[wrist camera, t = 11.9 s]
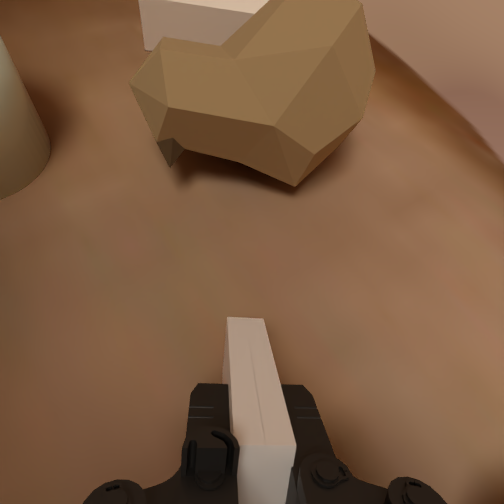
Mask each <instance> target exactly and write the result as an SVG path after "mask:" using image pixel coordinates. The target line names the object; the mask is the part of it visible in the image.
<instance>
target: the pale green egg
mask: <svg viewBox="0 0 504 504" xmlns="http://www.w3.org/2000/svg"><path fill="white" fill-rule="evenodd" d="M50 150H51V145H50V139H49V136H48V134H47V132H46V130H45V128H44V126H43V123H42V121H41V119H40V117H39V115H38V113H37V111H36V109H35V107H34V105H33V103H32V101H31V98H30V96H29V94H28V92H27V90H26V88H25V86H24V84H23V82H22V80H21V78H20V75H19V73H18V71H17V69H16V67H15V65H14V63H13V61H12V59H11V57H10V55H9V52H8V50H7V48H6V46H5V44H4V42H3V40H2V38H1V36H0V199H3V198H6V197H8V196H10V195H12V194H14V193H16V192H18V191H20V190H21V189H23V188H24V187H26V186H27V185H29V184H30V183H31V182H32V181H33V180H34V179H36V178H37V176H38V175H39V174H40V173H41V172H42V170H43V169H44V167H45V166H46V164H47V162H48V159H49V156H50Z"/></svg>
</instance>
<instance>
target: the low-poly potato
mask: <svg viewBox="0 0 504 504" xmlns="http://www.w3.org/2000/svg"><path fill="white" fill-rule="evenodd" d="M374 75H375V66H374V61H373V56H372V51H371V46H370V41H369V35H368V30H367V25H366V20H365V15H364V10H363V5H362V3H361V2H359V1H358V0H269V1H268V2H267V3H266V4H265V5H264V6H263V7H262V8H260V9H259V10H258V11H257V12H256V13H255V14H254V15H253V16H252V17H251V18H250V19H249V20H248V21H247V22H245V23H244V24H243V25H242V26H241V27H240V28H239V29H238V30H237V31H236V32H235V33H234V34H233V35H232V36H231V37H229V38H228V39H227V40H226V41H225V42H224V43H223V44H222V45H221V46H218V45H212V44H205V43H199V42H193V41H187V40H181V39H174V38H168V37H163V38H162V39H161V40H160V42H159V43H158V44H157V46H156V47H155V48H154V50H153V51H152V52H151V54H150V55H149V56H148V58H147V59H146V60H145V62H144V63H143V64H142V66H141V67H140V68H139V69H138V71H137V72H136V73H135V75H134V76H133V77H132V79H131V80H130V81H129V85H130V87H131V89H132V91H133V93H134V95H135V97H136V100H137V102H138V104H139V106H140V108H141V110H142V112H143V114H144V117H145V119H146V121H147V123H148V125H149V127H150V129H151V131H152V133H153V136H154V138H155V140H156V142H157V144H158V146H159V148H160V150H161V152H162V154H163V156H164V157H165V159H166V161H167V163H168V165H169V167H170V168H171V166H172V165H173V164H174V162H175V161H176V160H177V158H178V157H179V156H180V154H181V153H182V152H183V150H184V149H187V150H191V151H195V152H199V153H203V154H208V155H212V156H216V157H220V158H224V159H228V160H232V161H236V162H240V163H242V164H244V165H247V166H249V167H251V168H253V169H256V170H258V171H260V172H262V173H265V174H267V175H269V176H271V177H274V178H276V179H278V180H280V181H283V182H285V183H287V184H289V185H292V186H294V187H295V186H297V185H298V184H299V183H300V182H301V181H302V180H303V179H304V178H305V177H306V176H307V175H308V174H309V173H310V172H312V171H313V170H314V169H315V168H316V167H317V166H318V165H319V164H320V163H321V162H322V161H323V160H324V159H325V158H326V157H328V156H329V155H330V154H331V153H332V152H333V151H334V150H335V149H336V148H337V147H338V146H339V145H340V144H341V143H342V142H343V140H344V139H345V138H346V137H347V136H348V135H349V133H350V132H351V131H352V130H353V129H354V128H355V126H356V125H357V124H358V123H359V122H360V120H361V119H362V118H363V115H364V111H365V107H366V104H367V100H368V97H369V93H370V89H371V86H372V82H373V78H374Z"/></svg>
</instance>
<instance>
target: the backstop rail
mask: <svg viewBox="0 0 504 504" xmlns="http://www.w3.org/2000/svg"><path fill="white" fill-rule="evenodd" d="M268 1H269V0H139V8H140V16H141V23H142V31H143V39H144V46H145V50H148V51H153V50H154V48H155V47H156V46H157V44H158V43H159V42H160V40H161V39H162V38H163V37H168V38H174V39H181V40H187V41H193V42H199V43H205V44H212V45H218V46H221V45H222V44H223V43H224V42H225V41H226V40H227V39H228V38H229V37H231V36H232V35H233V34H234V33H235V32H236V31H237V30H238V29H239V28H240V27H241V26H242V25H243V24H244V23H245V22H247V21H248V20H249V19H250V18H251V17H252V16H253V15H254V14H255V13H256V12H257V11H258V10H259V9H260V8H262V7H263V6H264V5H265V4H266V3H267V2H268Z"/></svg>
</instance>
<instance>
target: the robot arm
mask: <svg viewBox="0 0 504 504" xmlns="http://www.w3.org/2000/svg"><path fill="white" fill-rule="evenodd" d="M222 383H223V384H207V383H198V384H197V386H196V387H195V388H194V390H193V391H192V392H191V395H190V404H189V414H188V423H187V432H186V439H185V441H184V444H183V447H182V459H181V466H180V468H179V470H178V471H177V472H176V473H175V474H174V476H173V477H171V478H170V479H168V480H167V481H165V482H163V483H161V484H159V485H156V486H153V487H150V488H147V489H142V488H141V487H140V486H139V484H137V483H135V482H132V481H130V480H114V481H111V482H107V483H105V484H103V485H101V486H100V487H98V488H97V489H95V490H94V491H93V492H92V493H91V494H90V495H89V496H88V497H87V499H86V500H85V501H84V502H83V504H447V503H446V502H445V501H444V500H443V499H442V497H441V496H440V495H439V494H438V493H437V492H435V491H434V490H433V489H432V488H431V487H430V486H428V485H427V484H425V483H423V482H421V481H420V480H417V479H413V478H410V477H398V478H396V479H394V480H393V481H391V483H390V485H389V487H388V489H386V488H383V487H379V486H376V485H373V484H369V483H366V482H363V481H361V480H358V479H357V478H355V477H353V476H352V474H351V472H350V471H349V469H348V467H347V466H346V465H345V464H343V463H342V462H341V461H340V460H339V459H337V458H336V457H335V454H334V452H333V449H332V446H331V444H330V441H329V438H328V436H327V433H326V430H325V428H324V425H323V422H322V420H321V419H320V414H319V412H318V409H317V407H316V404H315V401H314V399H313V396H312V394H311V393H310V392H309V391H308V390H307V389H306V388H305V387H304V386H303V385H286V384H280V380H279V377H278V373H277V369H276V365H275V361H274V357H273V354H272V350H271V346H270V342H269V338H268V334H267V331H266V327H265V323H264V319H261V318H240V317H227V326H226V338H225V349H224V361H223V372H222Z"/></svg>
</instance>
